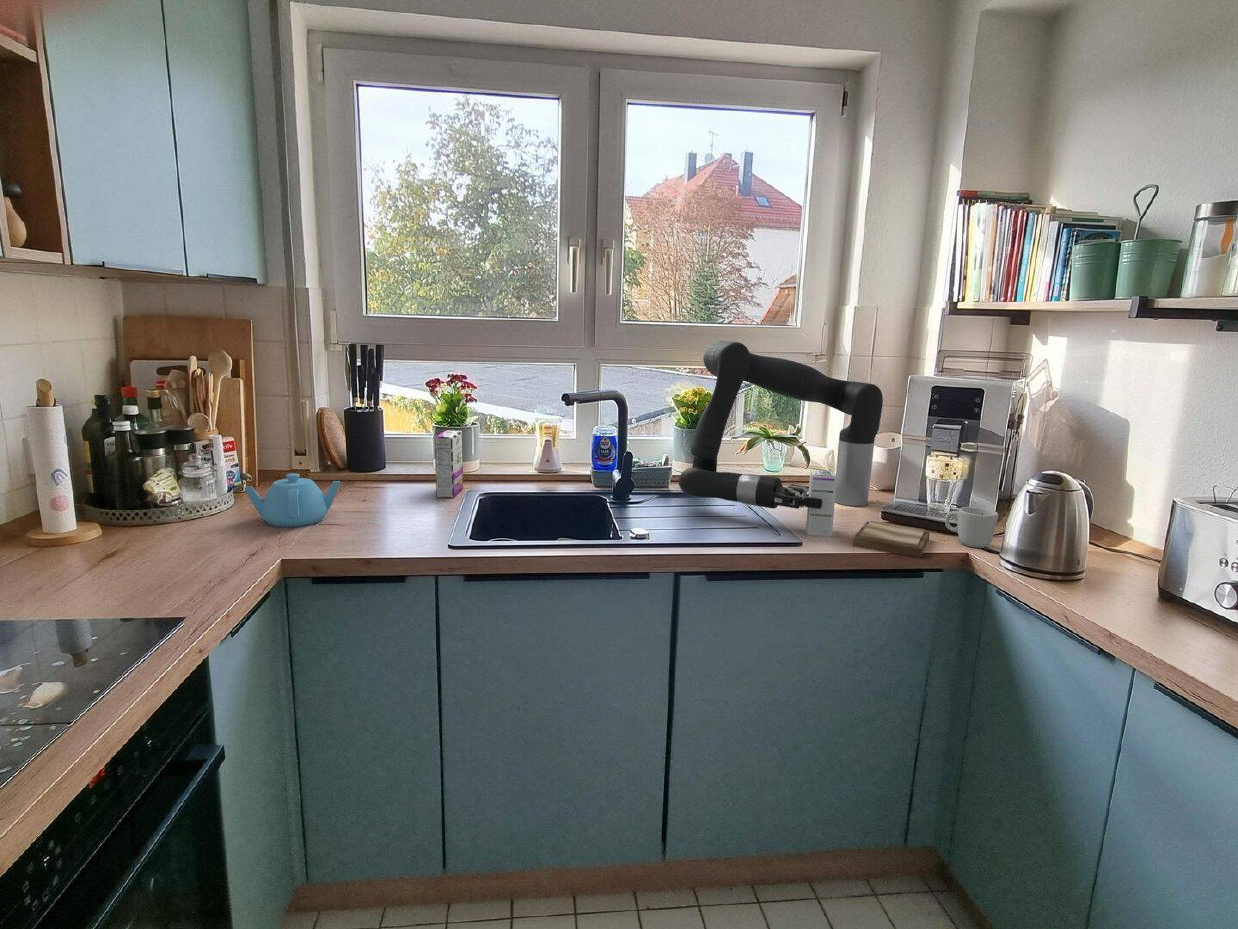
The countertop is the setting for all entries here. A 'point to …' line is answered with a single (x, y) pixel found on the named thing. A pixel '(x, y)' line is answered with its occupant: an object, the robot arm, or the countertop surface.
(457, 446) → the candy bar box
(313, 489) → the teapot
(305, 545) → the countertop surface
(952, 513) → the cup
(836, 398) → the robot arm
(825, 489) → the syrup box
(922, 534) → the riser
